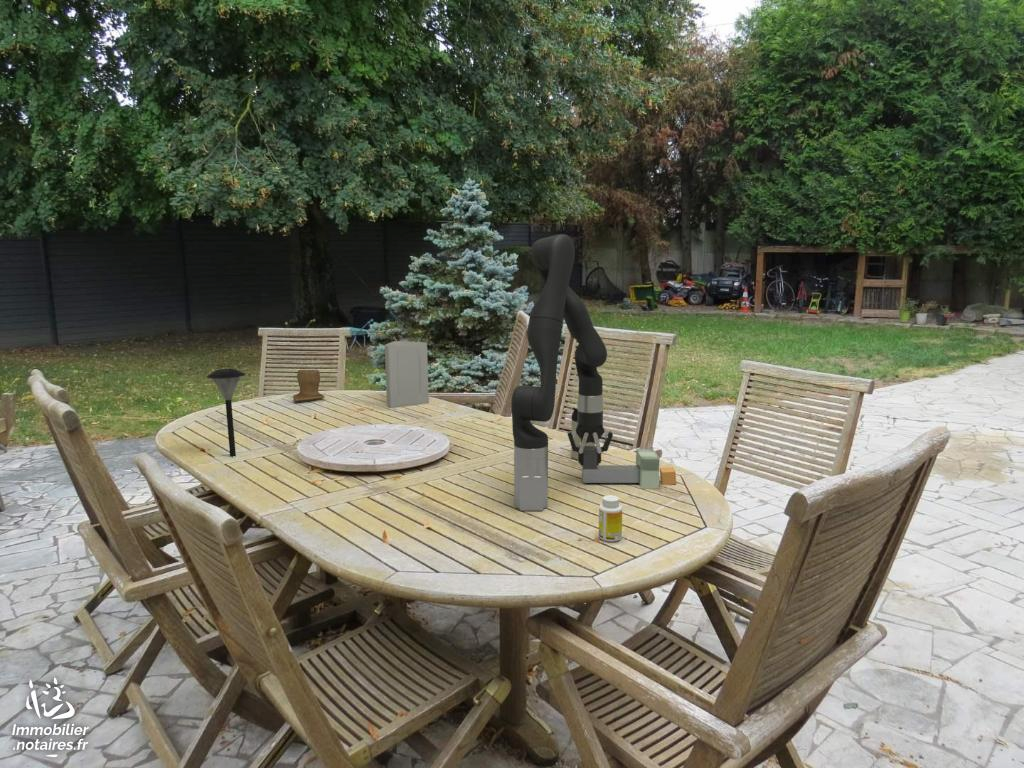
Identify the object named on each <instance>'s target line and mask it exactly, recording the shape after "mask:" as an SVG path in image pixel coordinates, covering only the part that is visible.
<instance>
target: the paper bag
mask: <svg viewBox="0 0 1024 768" xmlns="http://www.w3.org/2000/svg"><path fill="white" fill-rule="evenodd" d="M428 361H429V359H428V342H423V341H402V340H398V341H397V340H396V341H394V340H393V341H391V342H389V343H387V344H384V363H385V385H386V386H385V389H386V392H385V393H386V406H387V407H388V408H390V409H394V408H402V407H408V406H409V407H410V406H411V407H412V406H418V405H426V404H429V395H430V394H429V365H428V363H429V362H428Z"/></svg>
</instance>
